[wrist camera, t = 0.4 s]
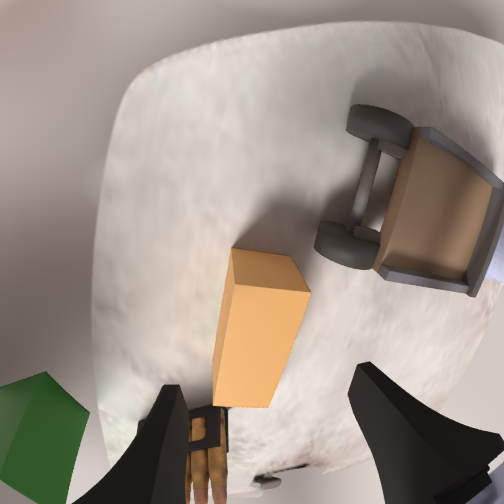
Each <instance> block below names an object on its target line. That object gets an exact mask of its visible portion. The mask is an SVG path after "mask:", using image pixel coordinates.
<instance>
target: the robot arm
mask: <svg viewBox="0 0 504 504" xmlns="http://www.w3.org/2000/svg"><path fill="white" fill-rule="evenodd" d="M485 278H488V279H492V280H495V281H499V282H500V283H502V284H503V285H504V225H503V229H502V232H501V235H500V238H499V241H498V244H497V247H496V250H495V252H494V255H493V258H492V260H491V263H490V266H489V268H488V270H487V273H486V275H485ZM348 397H349V401H350V404H351V407H352V410H353V413H354V416H355V418H356V420H357V422H358V424H359V426H360V429H361V431H362V433H363V435H364V437H365V439H366V441H367V443H368V446H369V448H370V450H371V452H372V455H373V457H374V460H375V463H376V467H377V470H378V473H379V477H380V481H381V485H382V489H383V494H384V499H385V504H504V462H503V463H502V464H500V465H499V466H498V467H497V468H496V469H495V470H493V472H491V473H490V474H488V473H487V472H488V471H489V470H490V467H489V466H488V464H489V463H490V462H491V461H493V460H494V459H495V458H496V457H497V456H498V455H499V454H500V453H501V452H503V451H504V440H503V439H502V437H501V436H500V435H499V434H497V433H492V432H488V431H483V430H479V429H476V428H472V427H469V426H466V425H463V424H461V423H458V422H456V421H454V420H452V419H449V418H447V417H445V416H443V415H441V414H440V413H438V412H436V411H434V410H432V409H431V408H429V407H427V406H426V405H424V404H423V403H421V402H420V401H419V400H417V399H416V398H414V397H413V396H411V395H410V394H409V393H407V392H406V391H405V390H404V389H402V388H401V387H400V386H399V385H397V384H396V383H395V382H394V381H392V380H391V379H390V378H389V377H388V376H387V375H385V374H384V373H383V372H382V371H381V370H379V369H378V368H377V367H376V366H375V365H374V364H372V363H371V362H370V361H369V362H365V363H360V364H357V366H356V370H355V373H354V376H353V379H352V382H351V385H350V388H349V391H348ZM188 444H189V411H188V409H187V406H186V403H185V400H184V397H183V394H182V391H181V388H180V385H163V386H162V388H161V391H160V393H159V395H158V397H157V399H156V401H155V403H154V405H153V407H152V409H151V411H150V413H149V415H148V416H147V418H146V420H145V422H144V423H143V425H142V427H141V429H140V430H139V432H138V433H137V435H136V436H135V438H134V440H133V441H132V443H131V444H130V446H129V447H128V448H127V450H126V451H125V453H124V454H123V455H122V456H121V458H120V459H119V460H118V461H117V463H116V464H115V465H114V466H113V467H112V468H111V470H110V471H109V472H108V473H107V474H106V475H105V476H104V477H103V478H102V479H101V480H100V481H99V482H98V483H97V484H96V485H95V486H93V487H92V488H91V489H90V490H89V491H88V492H87V493H86V494H85V495H83V496H82V497H80V498H79V499H77V500H76V501H75V502H73V503H72V504H186V493H185V477H186V465H187V454H188Z"/></svg>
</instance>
